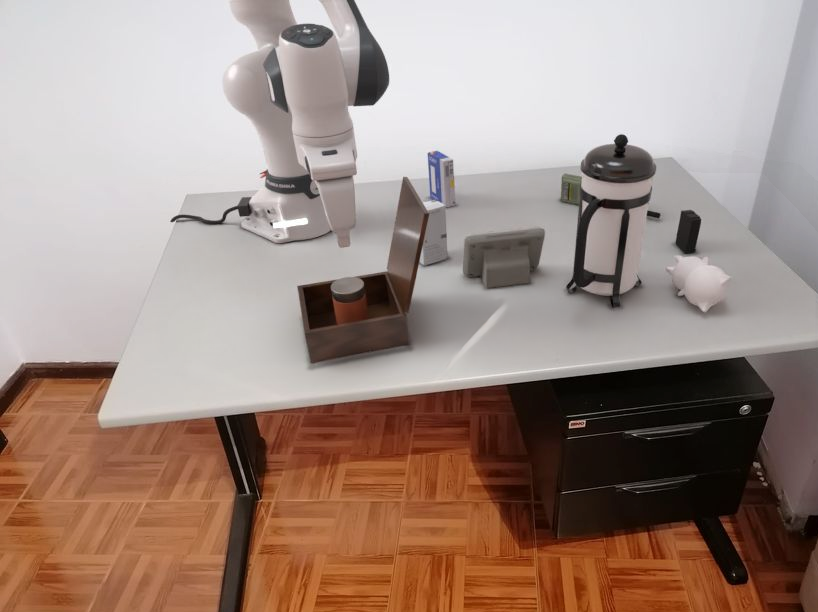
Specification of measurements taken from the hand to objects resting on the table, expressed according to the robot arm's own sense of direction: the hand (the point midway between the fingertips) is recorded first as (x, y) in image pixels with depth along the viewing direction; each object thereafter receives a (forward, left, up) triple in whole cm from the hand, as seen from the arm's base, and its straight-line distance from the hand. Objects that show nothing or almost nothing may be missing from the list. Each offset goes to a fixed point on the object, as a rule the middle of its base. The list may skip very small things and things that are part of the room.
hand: (340, 232), depth 103 cm
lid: (+7, +7, -4) cm, 11 cm away
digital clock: (+15, +30, -20) cm, 39 cm away
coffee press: (+35, +33, -20) cm, 52 cm away
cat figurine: (+52, +39, -20) cm, 68 cm away
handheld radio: (+24, +70, -20) cm, 76 cm away
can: (0, 0, -19) cm, 19 cm away
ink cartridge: (+45, +58, -20) cm, 76 cm away
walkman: (-15, +57, -20) cm, 62 cm away
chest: (0, 0, -20) cm, 20 cm away
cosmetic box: (-2, +30, -20) cm, 36 cm away
